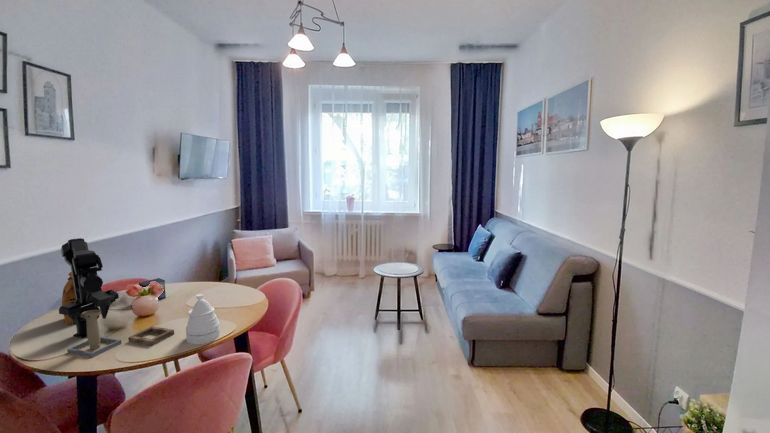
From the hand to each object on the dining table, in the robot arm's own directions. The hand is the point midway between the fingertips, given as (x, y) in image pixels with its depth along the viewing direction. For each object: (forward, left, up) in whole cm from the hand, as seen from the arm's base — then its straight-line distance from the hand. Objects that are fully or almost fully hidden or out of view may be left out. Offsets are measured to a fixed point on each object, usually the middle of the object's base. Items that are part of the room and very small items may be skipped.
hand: (92, 323), depth 143 cm
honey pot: (+34, +20, -11) cm, 41 cm away
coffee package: (-36, +18, -11) cm, 42 cm away
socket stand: (+14, +13, -10) cm, 22 cm away
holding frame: (0, 0, -10) cm, 10 cm away
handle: (0, 0, -11) cm, 11 cm away
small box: (-24, +48, -11) cm, 55 cm away
